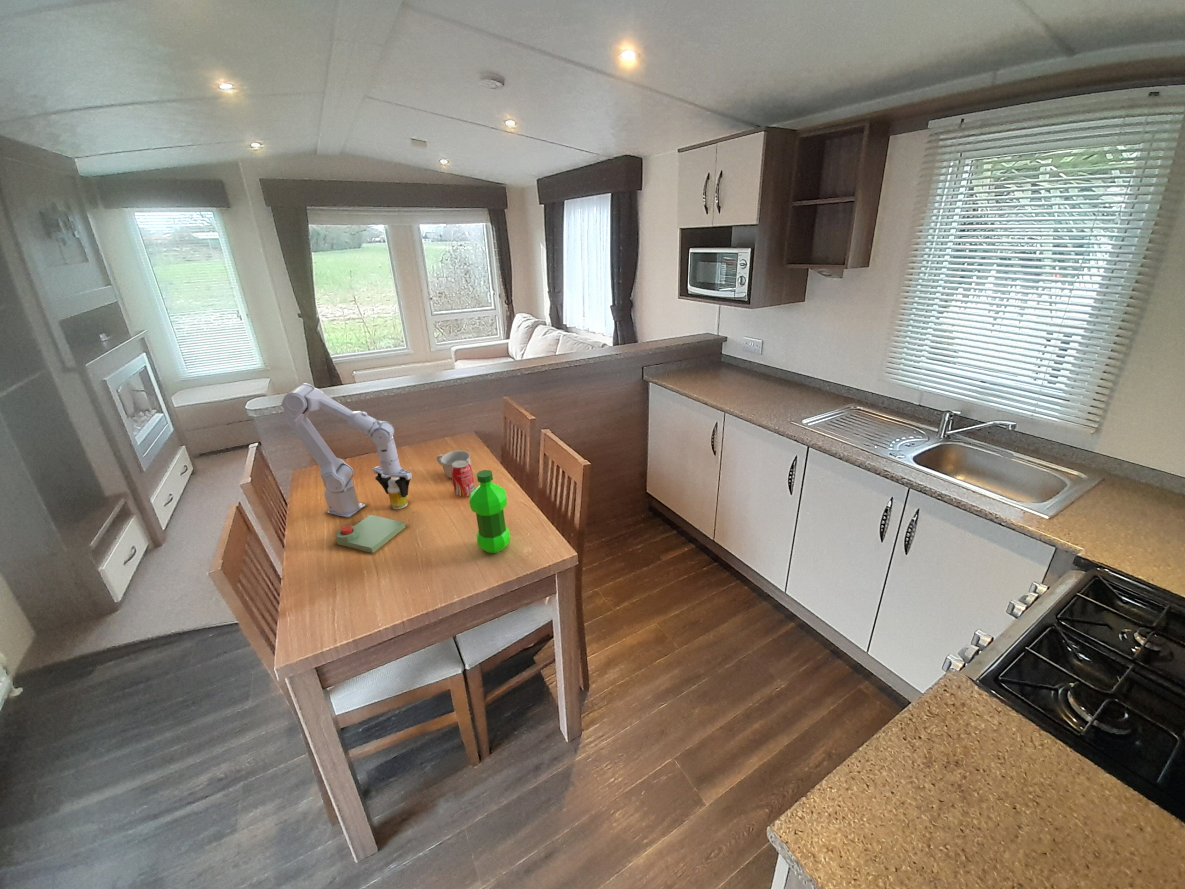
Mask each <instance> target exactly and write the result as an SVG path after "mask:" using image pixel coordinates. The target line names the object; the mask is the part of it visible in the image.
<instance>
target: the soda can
mask: <svg viewBox="0 0 1185 889" xmlns="http://www.w3.org/2000/svg"><path fill="white" fill-rule="evenodd" d="M451 475H452V478H451V480H452V486H453V489H454V494H455V495H456V496H457V497H461V498H466V497H470V493H471V492H472V491H473V490H474V489H475V481H474V475H473V470H472V464H471V465H470V464H469V462H468V461H467V460H457V461H455V462H453V463H452V467H451Z"/></svg>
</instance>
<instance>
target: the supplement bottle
mask: <svg viewBox="0 0 1185 889" xmlns="http://www.w3.org/2000/svg"><path fill="white" fill-rule="evenodd" d="M398 479H399V477H392V478H391V479H390V480H389V481H388V485H389V487H388V494H387V495H388V497H389V501H390V506H391V508H392V509H394V510H400V509H403V508H405V507H407V506H408V504H409V501H408V497H407V496H408V495H407V496H405V497H402V496H401V493H400V489H399V487H398V486H397V484H396V483H395V481H396V480H398Z"/></svg>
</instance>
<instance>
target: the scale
mask: <svg viewBox="0 0 1185 889" xmlns="http://www.w3.org/2000/svg"><path fill="white" fill-rule="evenodd" d="M350 526H351V527H352V530H353V532H352V533H351V534H348V535H342V533H341V528H340V529H339V530H337V532H336V534H335V536H336V538H335V541H336V544H337V545H340V546H344V547H348V548H351V549H356V550H359V551H363V552H366V553H370V554H374V553H375V552H377V551H378V550H380V549H381V548H382V547H383V546H384V545H385V544H387V543H388V542H389V541H390V540H392V539H393V538H394V537H395V536H397V534H399V533H400V532H401V531H403V530H404V529H405V528H406V522H405V521H401V520H395V519H393V518H392V519H391V518H387V517H384V516H383V517H382V516H378V515H374V514H369V515H367V516H366V517H365V518H363V519H362V520H360V521H359V522H357V523H356V524H355V525H350Z"/></svg>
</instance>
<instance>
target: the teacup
mask: <svg viewBox="0 0 1185 889" xmlns="http://www.w3.org/2000/svg"><path fill="white" fill-rule="evenodd" d="M457 460H467V461H468V462H469V464H470V465H471V466H472V459H471V454H470V452H468V451H467V450H452V451H450V452H446V453H445V454H442V453H441V454H440V453H439V454H438V455H437V456H436V461H437V462H438V464H439V465H440V466H441V467H442V470H443V473H444V474H445V476H446V477H447V478H451V479H452V475H451V467H452V463H453V462H455V461H457Z"/></svg>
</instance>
